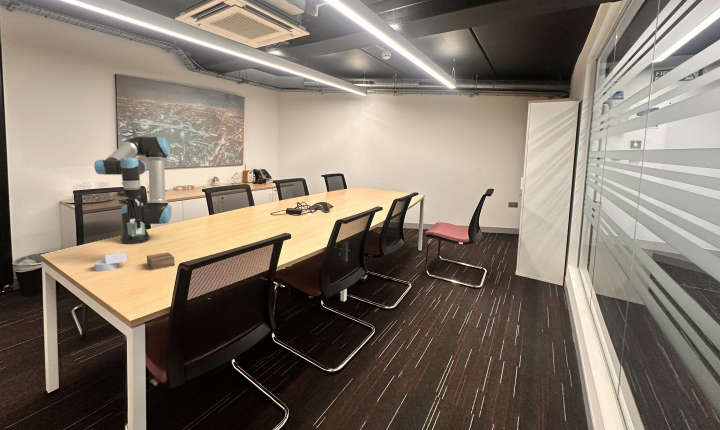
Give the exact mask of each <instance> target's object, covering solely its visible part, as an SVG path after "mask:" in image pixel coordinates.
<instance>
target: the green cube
mask: <svg viewBox="0 0 720 430" xmlns="http://www.w3.org/2000/svg"><path fill="white" fill-rule="evenodd" d="M141 227H142V233H141V234H136V231H135V222H131V223H127V229H128V234H129V235H130V236H138V235H144V234H145V228H146V226H145V227H144V223H143V222H141Z"/></svg>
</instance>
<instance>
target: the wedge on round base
mask: <svg viewBox="0 0 720 430" xmlns="http://www.w3.org/2000/svg"><path fill="white" fill-rule="evenodd" d="M127 261H128V257H127V253H126V252H117V253H112V254H105V255H104V259H103V258H102V259H99V260H96V261H95V262H94V265H93V266H94V271H95V272H107V271H113V270H115V269H117V268H118V264H119V263H126V262H127Z"/></svg>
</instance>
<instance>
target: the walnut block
mask: <svg viewBox="0 0 720 430" xmlns="http://www.w3.org/2000/svg"><path fill="white" fill-rule="evenodd" d="M146 263H147V266H148V267H149V268H150V269H151V270H152V271H155V270H161V269H165V268H170V266H171V267H175V266H176V264H175V256H174V255H172V254H171V253H170V252H161V253H156V254H155V253H154V254H149V255H146Z"/></svg>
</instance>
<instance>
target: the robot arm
mask: <svg viewBox="0 0 720 430" xmlns="http://www.w3.org/2000/svg"><path fill="white" fill-rule="evenodd" d="M137 156H143V157H145V160H146V161H148V167H147V164H146V163H145V162H144V161H143V160H140V159H138V158H137ZM170 156H171V149H170V145H169V142H168V140H167V139H166V138H165V137H160V136H133V137H130V138H128V139H126V140H124V141H122V142H121V143H120V144H119V146H118V148H117V149H116V150H115V151H113V152H112V153H111V154H110V155H109V156H108V157H106V158H105V159H97V160H95V161H94V164H93V165H94V171H95V173H96V174H98V175H104V176H105V175H106V176H107V175H109V176H110V175H112V176H113V175H116V176H118V175H119V176H120V175H121V180H122V181H121V185H122V188H123V196H124V197H125V198H126V199H125V203H126V205H122V207H121V208H120V209H121V210H120V211H121V213H120V214H121V223H122V233H121V236H120V243H121V244H126V245H132V244H133V245H134V244H135V245H136V244H142V243H146V242H148V241H149V240H150V235H149V232H148V230H147V229H146V225H162V224H168V223H169V222H170V220H171V219H172V218H171V217H172V205H171V204H169V202H168V201H167V200H166V177H165V175H166V172H165V170H166V169H165V162H166V161H167V159H168V157H170ZM147 169H148V185H149V187H148V189H149V190H148V191H149V195H148V196H149V200H148V201H147V202H146V205H144V203H143V202H141V201H140V200H139V198H138V197H141V196H142V189H141V178H140V177H141V175H142V174H144V173H145V172H146V171H147ZM131 222H135V231H136V234H141V233H142V227H141V222H143V223H144V227H145V234H144V235H138V236H130V235H129V234H128V229H127V223H131Z"/></svg>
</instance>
